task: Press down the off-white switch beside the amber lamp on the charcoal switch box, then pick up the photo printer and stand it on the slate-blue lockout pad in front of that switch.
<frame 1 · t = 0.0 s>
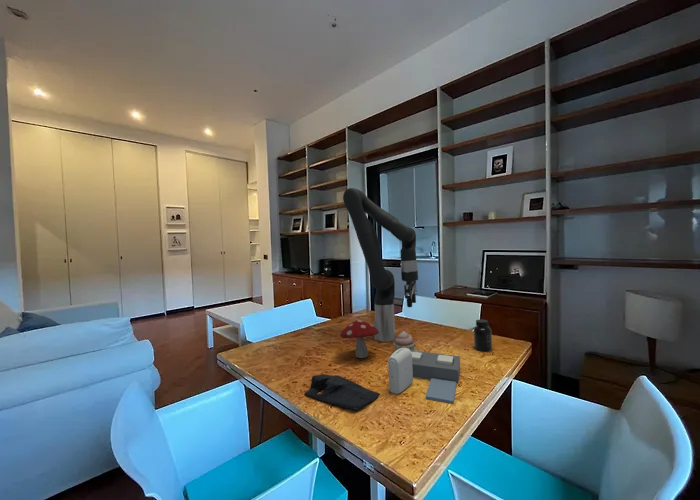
hand: (411, 304, 135), 17 cm above the table, tool pointing down, fingers open, 8 cm apart
switch box: (429, 371, 106), on the table
lockout pad: (441, 391, 92), on the table
right switch: (445, 361, 103), point 4 cm above the table, slide at 0.0 cm
folded black shirt: (341, 396, 93), on the table
decorative mushroom: (360, 356, 122), on the table
left switch: (414, 357, 108), point 4 cm above the table, slide at 0.0 cm
supplement bottle: (483, 349, 124), on the table
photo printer: (401, 387, 96), on the table
cupcake: (404, 355, 121), on the table
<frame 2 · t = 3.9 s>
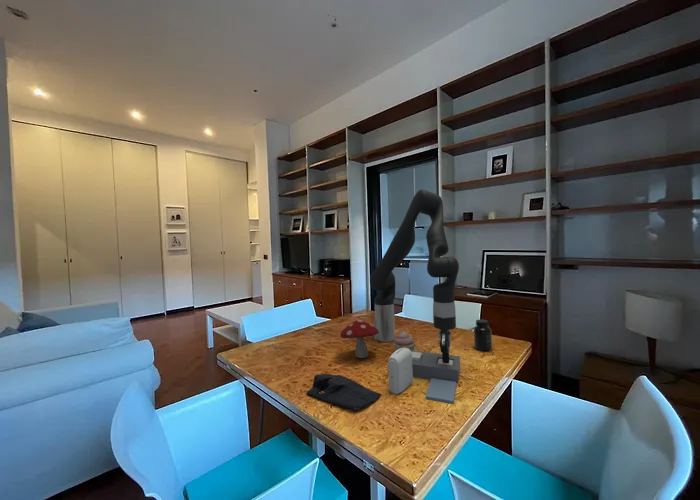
hand: (445, 362, 103), 4 cm above the table, tool pointing down, fingers closed
right switch: (445, 365, 103), point 3 cm above the table, slide at 1.4 cm, touching gripper
everything else where it was.
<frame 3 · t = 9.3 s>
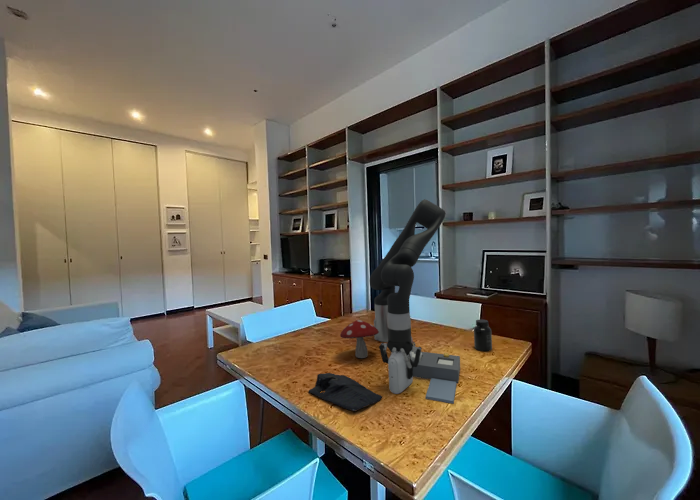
hand: (401, 376, 95), 3 cm above the table, tool pointing down, fingers closed on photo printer, 5 cm apart
right switch: (445, 366, 103), point 3 cm above the table, slide at 1.7 cm
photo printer: (401, 387, 96), on the table, touching gripper
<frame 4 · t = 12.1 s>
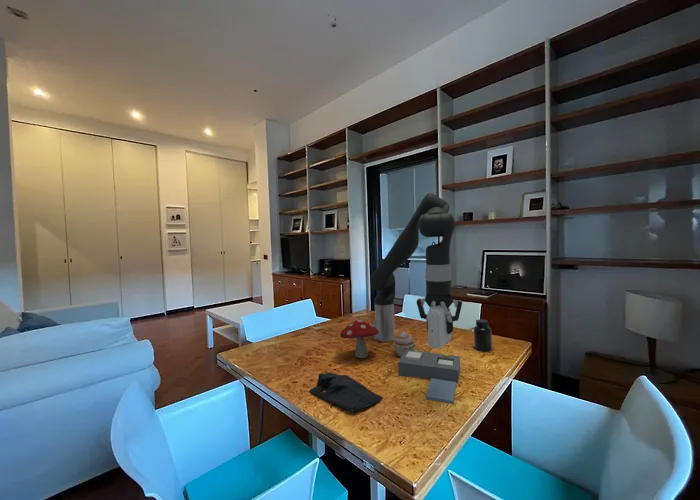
hand: (439, 332, 91), 19 cm above the table, tool pointing down, fingers closed on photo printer, 5 cm apart
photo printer: (440, 343, 91), point 15 cm above the table, touching gripper
when the fingers open (5 cm above the table, at t = 15.3 s): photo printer stays where it is, resting on lockout pad.
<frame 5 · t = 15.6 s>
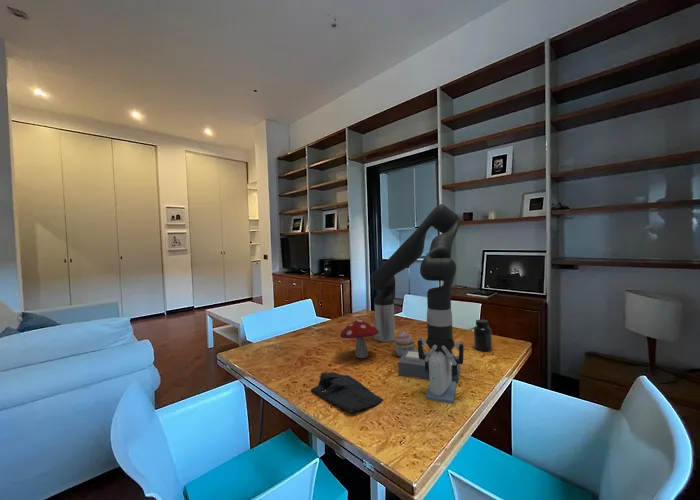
hand: (441, 373, 92), 6 cm above the table, tool pointing down, fingers open, 7 cm apart
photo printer: (441, 388, 92), point 1 cm above the table, touching lockout pad
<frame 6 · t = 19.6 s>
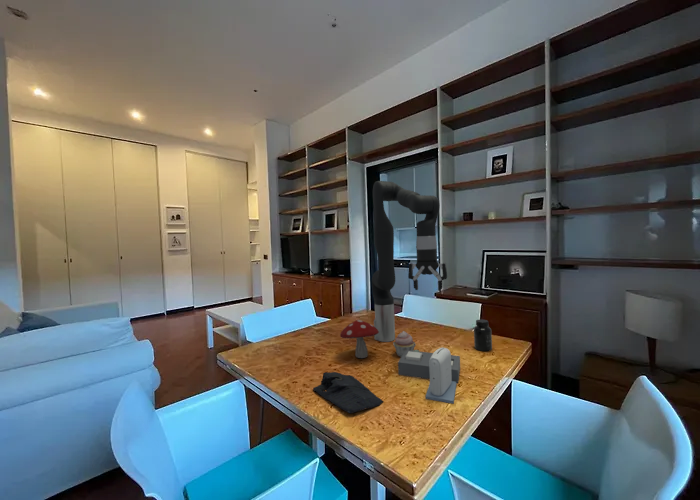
hand: (427, 290, 112), 28 cm above the table, tool pointing down, fingers open, 8 cm apart
at the end: right switch slide at 1.7 cm; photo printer 0.1 cm from the target spot, point 0.6 cm above the table; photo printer tilted 0° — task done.
